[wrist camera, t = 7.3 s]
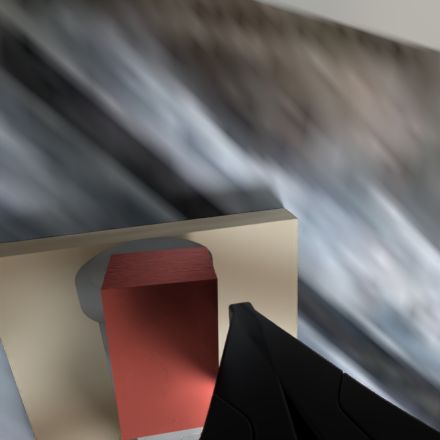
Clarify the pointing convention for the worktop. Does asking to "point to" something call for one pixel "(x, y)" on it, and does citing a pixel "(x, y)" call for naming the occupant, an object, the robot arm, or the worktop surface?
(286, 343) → the robot arm
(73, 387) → the valve board
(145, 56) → the worktop surface
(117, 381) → the valve lever
